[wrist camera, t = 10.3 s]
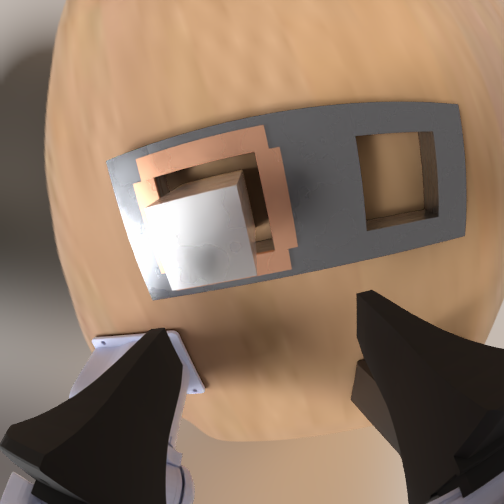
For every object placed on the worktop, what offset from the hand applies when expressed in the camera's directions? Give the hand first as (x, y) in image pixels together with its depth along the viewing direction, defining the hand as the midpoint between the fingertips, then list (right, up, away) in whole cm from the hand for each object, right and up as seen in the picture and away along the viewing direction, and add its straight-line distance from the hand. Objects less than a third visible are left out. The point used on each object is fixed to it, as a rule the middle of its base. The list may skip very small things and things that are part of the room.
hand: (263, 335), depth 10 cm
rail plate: (+3, +7, +8) cm, 11 cm away
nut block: (-3, +6, +8) cm, 11 cm away
